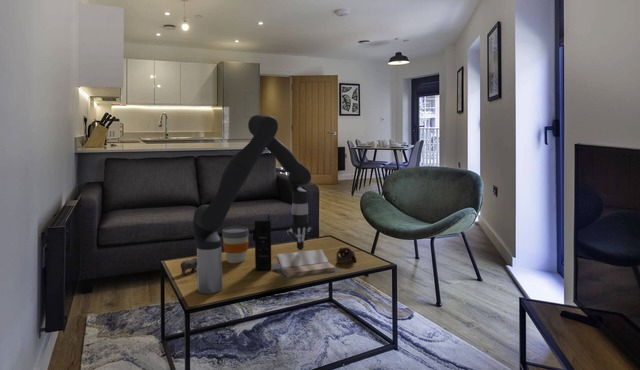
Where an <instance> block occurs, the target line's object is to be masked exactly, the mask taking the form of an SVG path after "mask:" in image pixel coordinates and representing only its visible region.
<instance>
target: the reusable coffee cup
mask: <svg viewBox="0 0 640 370" xmlns="http://www.w3.org/2000/svg"><path fill="white" fill-rule="evenodd" d="M221 232H222V234H221V237H222V240H223V242H222V245H223V251H224V253H225V259H226V262H227V263H230V264H239V263H241V262H242V263H243V262H245V261H246V260H247V252H248V249H249V236H250V233H249V228H248V227H243V226H230V227H229V226H228V227H225V228H223V229H222V231H221Z"/></svg>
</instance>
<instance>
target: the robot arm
mask: <svg viewBox="0 0 640 370" xmlns="http://www.w3.org/2000/svg"><path fill="white" fill-rule="evenodd" d="M247 124H248V125H247V127H248V130H249V133H250V135H252V136H253V137H251V140H250V141H249V142H248V143H247V145H246V146H243V148H241V149H240V150H239V151H237V153H236V154H234V155H233V156H232V157H231V158H230V160H229V161H228V163H227V164H226V166H225V168H224V170H223V172H222V174H221V177H220V181H219V185H218V190H217V191H216V194H215V196H214V197H213V199H212V200H211V202H210V204H202V205H200V206H198V207H197V208H196V209H195V211H194V214H193V221H192V222H193V233H194V240H195V243H196V244H195V245H196V258H197V268H196V271H197V272H196V282H197V283H196V284H197V285H196V287H197V291H198V294H205V295H207V294H215V293H219V292H221V291H222V290H223V262H222V261H223V259H222V256H223V255H222V239H221V237H220V235H219V233H218V229H220V227H222V225H223V223H224V221H225V219H226V217H227V215H228V212H229V211H230V208H231V206H232V205H233V203H234V201H235V200H236V198H237V195H238V194H239V192H240V191H241V189H242V188H243V186H244V184H245V183H246V182H247V179H248V178H249V176H250V175H251V173H252V170H253V169H254V167H255V166H256V164H257V162H258V161H259V159H260V157H261V156H262V154H263V153H264V151H265V150H266V149H267V150H268V152H270V154H272V156H273V157H274V158H275V160H276V161H277V162H278V163H279V164H280V166H281V167H282V168H283V171H286V172H287V173H288V177H287V179H288V184H289V187H290V188H289V189H290V192H291V204H292V205H291V226H290V228H289V229H288V230H286V234H287V235H288V236H289V237H290V238H291V239H292V240H293V241H294V242H296V248H297V250H298V251H302V250H303V249H304V247H305V246H304V244H305V243H304V242H306V241H308V239H309V238H310V237H311V236H312V234H313V232H314V229H313V228H312V227H310V225H309V204H308V203H309V202H308V201H309V200H308V191H307V190H305V189H303V187H302V186H306V185H308V184H310V183H311V181H312V174H311V171H310V170H309V169H308V168H307V167H306V166H305V165H304V164H303V163H301V162H300V161H299V160H298V159H297V157H296V156H295V154H294V153H293V152H292V151H291V150H290V149H289V148H288V147H287V146H286V145H285V144H284V143H282V141H280V140H279V139H278V138H277V137H276V135H277V132H278V129H279V123H278V121H277V119H276V118H275V117H274V116H271V115H265V114H264V115H263V114H254V115H253V116H251V117H250V118H249V120H248V123H247ZM293 233H294V234H295V235H294V234H293Z"/></svg>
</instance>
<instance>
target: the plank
mask: <svg viewBox="0 0 640 370" xmlns="http://www.w3.org/2000/svg"><path fill="white" fill-rule="evenodd" d="M276 261H277V263H279V265H280V268H281V270H282V271H283V268H290V267H298V266H305V265H313V264H321V263H329V260H328V258H327V256H326V254H325V253H324V250H323V249H322V248H321V249H320V248H319V249H310V250H303V251H302V250H301V251H295V252H285V253H277V254H276Z"/></svg>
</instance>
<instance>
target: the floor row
mask: <svg viewBox="0 0 640 370" xmlns="http://www.w3.org/2000/svg"><path fill="white" fill-rule="evenodd" d="M335 268H336V266H334V265H333V264H332V263H330V262H328V263H321V264H313V265H305V266H298V267H290V268H283V273H284V274H285V275H286V276H287V277H295V276H302V275H310V274H317V273H324V272H332V271H335Z"/></svg>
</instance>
